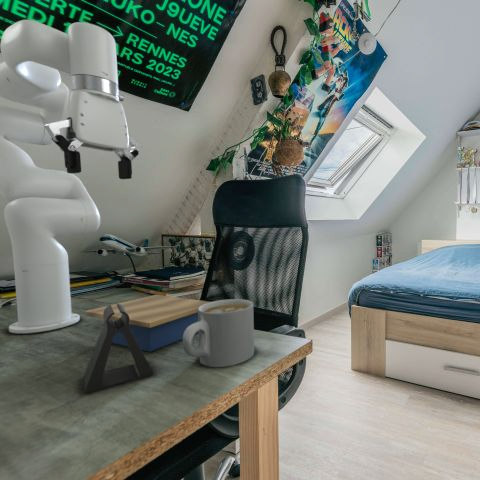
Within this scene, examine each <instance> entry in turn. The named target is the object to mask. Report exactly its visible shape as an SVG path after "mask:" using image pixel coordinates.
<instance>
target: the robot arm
mask: <svg viewBox="0 0 480 480" xmlns="http://www.w3.org/2000/svg"><path fill="white" fill-rule="evenodd" d="M0 53H1V57H2V59H3V61H2V62H0V97H1V98H3V99H6V100H8V101H10V102H14V103H18V104H22V105H27V106H31V107H34V108H40V111H39V112H33V111H29V110H25V109H22V108H18V107H17V108H16V107H12V106H8V105H4V104H0V195H1V196H2V197H3V198H4V199H5V200H6V201H8V203H7V204H6V206H5V207H4V211H3V218H4V221H5V224H6V228H7V231H8V234H9V238H10V243H11V247H12V259H13V269H14V271H13V272H14V284H15V298H16V311H17V312H16V313H17V321H16V322H14V323H11V324H10V325H9V326H8V332H9V333H12V334H20V335H21V334H22V335H23V334H25V335H26V334H36V333H42V332H49V331H54V330H59V329H62V328H66V327H69V326H72V325H75V324H76V323H78V322H79V321H80V320H81V315H80V314H78V313H75V312H74V313H73V312H72V300H71V299H72V297H71V279H70V265H69V255H68V254H69V253H68V251H67V250H66V249H65V247H64V246H63V245H62V244H61V243H60V242H59V241H58V240H57V239H55V237H56V238H57V237H68V236H69V237H70V236H74V237H75V236H87V235H91V234H93V233H95V232H97V230H99V228H100V226H101V215H100V212H99V208H98V206H97V205H96V203H95V201H94V200H93V198H92V197H91V195H90V194H89V191H88V189H86V187H85V185H84V184H83V182H82V180H81V179H80V177H78V176H77V175H75V174H80V173H82V159H81V153H80V151H78V150H77V149H79V148H80V147H83V148H87V149H92V150H99V151H104V152H114V153H115V155H116V156H117V157H118V159H119V160H117V161H118V162H117V167H118V168H117V171H118V178H119V179H120V180H131V179H132V177H133V176H132V175H133V167H132V161H135V159H136V158H137V157H138V155H139V154H140V153H139V152H140V151H141V149H142V147H143V144H142V143H141V142H139V141H138V140H137V139H135V138H134V137H133V136H131V135H130V134H129V128H128V123H127V118H126V113H125V109H124V106H123V103H121V102H123V101H124V100H125V96H124V95H122V94H121V93H120V88H119V77H118V76H119V74H118V73H119V72H118V60H117V43H116V40H115V37H114V36H113V35H112V34H111V32H109V31H108V30H106V29H105V28H103V27H101V26H99V25H96V24H93V23H91V22H90V23H89V22H82V21H81V22H80V21H76V22H73V23H70V25H69V26H68V28H67V33H66V32H64V31H61V30H59V29H57V28H54V27H52V26H49V25H48V24H47V25H46V24H44V23H43V22H40V21H37V20H34V19H33V20H32V19H22V20H18V21H16V22H14V23H13V24H11V25H9V26H8V27H6V29H5V30H4V31H3V33H2V35H1V38H0ZM60 72H63V73H66V74H69V75H70V82H71V90H70V89H69V87H68V86H67V85H66V84H65V83H64V82H63V81H62V76H61V73H60ZM61 130H62V133H61ZM11 141H12V142H11ZM13 142H19V143H26V144H33V145H39V146H49V145H52V144H53V143H54V144H56V145H57V146H58V147H59V150H60V151H61V152H62V153H63V157H64V167H65V168H66V170H59V169H52V168H51V169H50V168H43V167H40V166H37V165H36V164H35V163H34V161H33V159H32V158H31V156H30V154H28V153H27V152H26V151H25V150H24V149H22V148H21V147H19V146H18V145H16V144H15V143H13ZM129 145H130V150H129Z"/></svg>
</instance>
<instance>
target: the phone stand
mask: <svg viewBox="0 0 480 480" xmlns="http://www.w3.org/2000/svg"><path fill="white" fill-rule="evenodd" d="M116 304H117V307H118V309H119V311H120V313H123V314H122V315H121V317H119V319H116V320H115V321H114V320H111V321H110V317H111V316H112V315H114V314H115V313H114V311H113V309H112V307H111V305H112V304H109V305H107V306H108V307H106V308H105V310H104V313H103V315H104V319H103V320H104V322H103V326H102V329H101V331H100V333H99V336H98V338H97V342H96V344H95V347H94V349H93V351H92V354H91V357H90V360H89V363H88V365H87V367H86V370H85V373H84V374H83V384H84V385H83V386H84V393H85V394H90V393H94V392H97V391H100V390H104V389H108V388H112V387H115V386H119V385H120V384H127V383H129V382H133V381H137V380H141V379H145V378H147V377H151V376H153V375H154V371H153V370H152V368H151V366H150V363H149V362H148V360H147V358H146V356H145V354H144V351H143V350H141V349H140V347H139V345H138V343H137V341H136V339H135V338H134V336H133V334H132V332H131V330H130V328H129V316H128V314H127V312H126V310H125V309H124V307H123V306H122V305H120V304H118V303H116ZM116 333H123V334H124V336H125V339H126V341H127V344H128V346H129V347H128V346H127V347H128V349H129V351H130V354H131V356H132V359H133V361H134V364H130V365H126V366H122V367H119V368H114V369H110V370H106V371H105V369H106V366H107V362H108V359H109V355H110V351H111V347H112V344H113V343H112V340H113V336H114V335H115V334H116Z"/></svg>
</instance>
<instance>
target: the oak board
mask: <svg viewBox="0 0 480 480" xmlns="http://www.w3.org/2000/svg"><path fill="white" fill-rule="evenodd" d="M210 302H211V301H209V300H208V301H206V300H201V299H192V298H185V297H178V296H169V295H163V294H153V295H149V296H144V297H139V298H136V299H132V300H131V299H130V300H127V301H122V302H119V303H118V302H117V303H115V304H110V305H111V307H112V309H113V311H114V313H115V314H114V315H112V316H111V317H110V320H114V321H115V320H116V319H119V317H121V315H122V314H123V313H120V311H119V309H118V307H117V304H120V305H122V306H123V307H124V309H125V310H126V312H127V314H128V316H129V324H132V325H138V326H143V327H148V328H151V327H154V326H157V325H160V324H163V323H166V322H169V321H172V320H175V319H178V318H181V317H185V316H188V315H191V314H194V313H197V312H198V308H199V307H200V306H202V305H204V304H206V303H210ZM108 306H109V305H105V306H102V307H101V306H100V307H96V308H94V309H89V310H85V317H91V318H97V319H101V320H104V315H103V313H104V310H105V308H106V307H108Z"/></svg>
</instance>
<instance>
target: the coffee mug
mask: <svg viewBox="0 0 480 480" xmlns="http://www.w3.org/2000/svg"><path fill="white" fill-rule="evenodd" d="M209 302H210V303H206V304H204V305H202V306H200V307H199V308H198V322H196V323H193V324H192V325H190V326H188V327H187V328H186V330H185V331H184V334H183V339H182V348H183V351H184V352H185V353H186V354H187V355H189V356H191V357H197V358H198V357H199V362H200V364H201V365H204V366H205V367H209V368H225V367H231V366H235V365H238V364H241V363H244V362H246V361H248V360H250V359H251V358H252V357H253V356H254V354H255V323H254V303H253V302H252V301H251V300H249V299H239V298H235V299H234V298H233V299H220V300H214V301H209ZM198 331H199V333H198V345H197V346H196V347H194V344H193V340H194V336H195V335H196V334H197V333H196V332H198ZM195 333H196V334H195Z"/></svg>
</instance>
